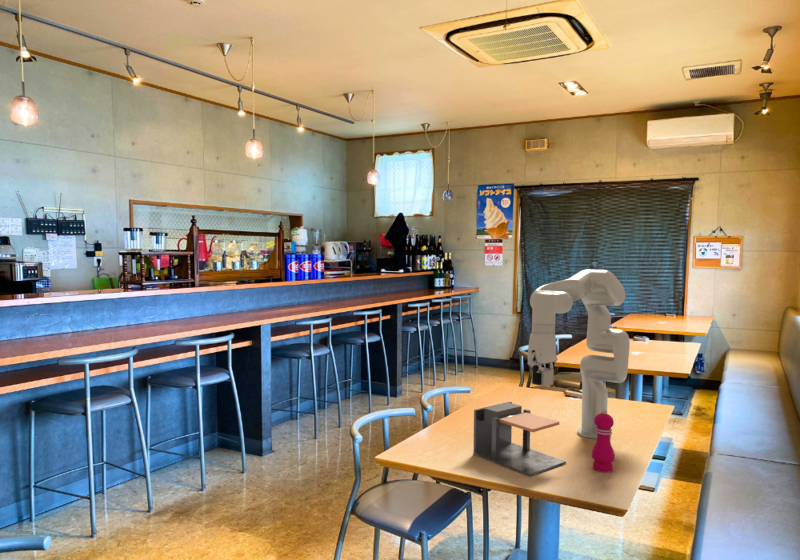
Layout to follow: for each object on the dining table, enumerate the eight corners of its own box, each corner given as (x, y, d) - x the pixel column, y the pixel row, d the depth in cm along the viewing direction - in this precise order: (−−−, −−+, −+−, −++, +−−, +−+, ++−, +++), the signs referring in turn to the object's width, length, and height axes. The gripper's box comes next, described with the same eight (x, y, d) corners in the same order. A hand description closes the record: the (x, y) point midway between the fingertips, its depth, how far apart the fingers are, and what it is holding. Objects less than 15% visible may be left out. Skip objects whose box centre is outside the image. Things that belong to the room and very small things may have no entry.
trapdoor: (509, 416, 206) (509, 402, 206) (559, 430, 189) (559, 415, 189) (483, 422, 197) (483, 408, 197) (532, 438, 180) (533, 423, 180)
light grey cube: (540, 381, 191) (541, 367, 191) (553, 384, 187) (553, 369, 187) (531, 383, 188) (532, 368, 188) (544, 386, 184) (544, 371, 184)
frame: (509, 443, 209) (509, 401, 209) (566, 463, 190) (567, 416, 189) (473, 454, 198) (474, 409, 197) (530, 476, 178) (530, 427, 177)
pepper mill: (587, 464, 189) (589, 406, 188) (608, 464, 189) (609, 405, 189) (597, 473, 182) (598, 412, 181) (618, 472, 182) (619, 411, 181)
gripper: (549, 326, 195) (548, 378, 196) (518, 329, 185) (516, 384, 185) (568, 328, 189) (566, 382, 190) (536, 332, 179) (535, 388, 179)
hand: (542, 382), depth 188 cm, fingers closed on light grey cube, 5 cm apart
